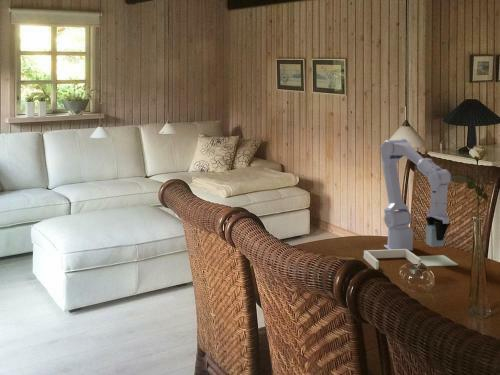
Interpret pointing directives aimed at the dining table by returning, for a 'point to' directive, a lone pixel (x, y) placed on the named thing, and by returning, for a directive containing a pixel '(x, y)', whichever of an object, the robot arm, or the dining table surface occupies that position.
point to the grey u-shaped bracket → (389, 256)
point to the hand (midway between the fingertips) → (436, 238)
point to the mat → (436, 261)
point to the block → (432, 237)
